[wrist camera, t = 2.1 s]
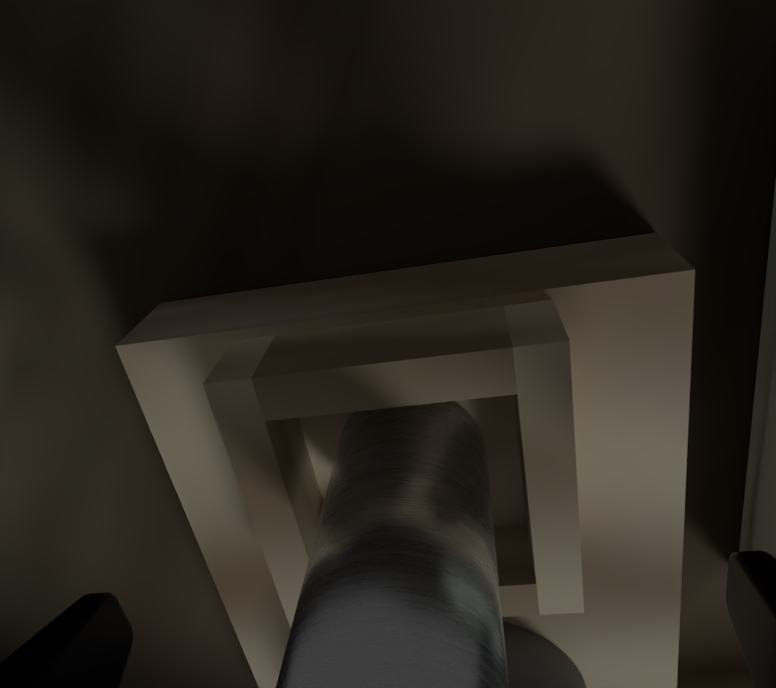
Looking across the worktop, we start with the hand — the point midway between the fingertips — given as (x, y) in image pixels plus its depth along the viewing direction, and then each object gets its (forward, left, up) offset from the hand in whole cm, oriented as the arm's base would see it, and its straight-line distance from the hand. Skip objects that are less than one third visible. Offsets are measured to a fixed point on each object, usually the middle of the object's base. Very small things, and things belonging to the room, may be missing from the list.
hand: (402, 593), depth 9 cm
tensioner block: (-4, 0, -5) cm, 6 cm away
